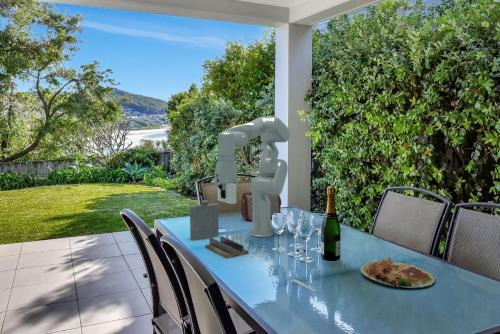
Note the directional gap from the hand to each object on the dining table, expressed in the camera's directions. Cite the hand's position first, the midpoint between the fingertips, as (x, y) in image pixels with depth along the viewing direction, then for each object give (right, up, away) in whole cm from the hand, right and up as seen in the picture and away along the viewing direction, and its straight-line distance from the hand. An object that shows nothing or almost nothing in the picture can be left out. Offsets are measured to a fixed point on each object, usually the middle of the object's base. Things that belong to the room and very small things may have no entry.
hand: (226, 197), depth 198 cm
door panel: (0, -2, 0) cm, 2 cm away
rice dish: (+69, -29, -31) cm, 81 cm away
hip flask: (-13, -23, +24) cm, 36 cm away
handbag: (+19, -18, +68) cm, 73 cm away
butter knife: (+35, -31, -45) cm, 65 cm away
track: (0, -25, +3) cm, 26 cm away
